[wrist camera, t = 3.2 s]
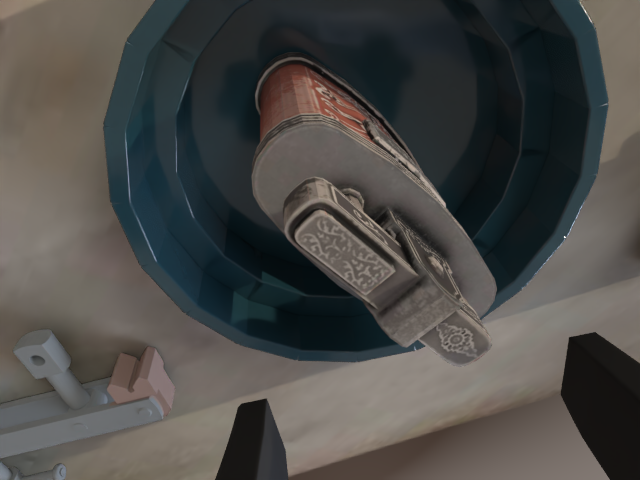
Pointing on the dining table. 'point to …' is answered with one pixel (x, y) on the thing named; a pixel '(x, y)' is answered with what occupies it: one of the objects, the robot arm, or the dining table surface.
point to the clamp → (78, 401)
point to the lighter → (366, 210)
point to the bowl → (397, 108)
